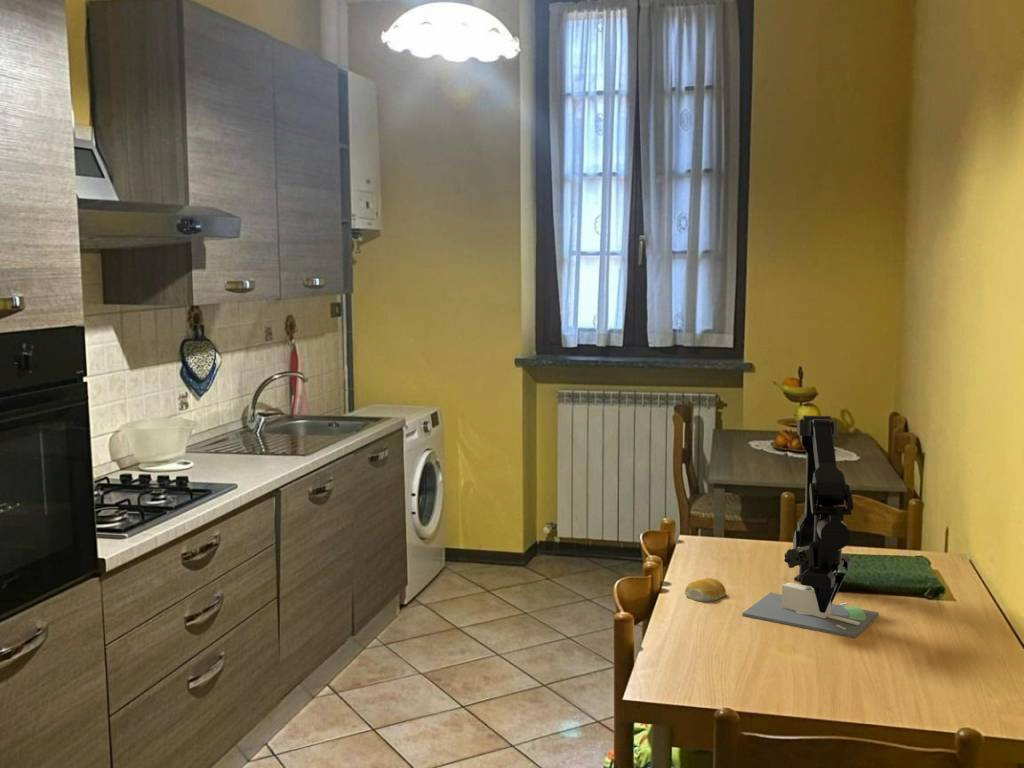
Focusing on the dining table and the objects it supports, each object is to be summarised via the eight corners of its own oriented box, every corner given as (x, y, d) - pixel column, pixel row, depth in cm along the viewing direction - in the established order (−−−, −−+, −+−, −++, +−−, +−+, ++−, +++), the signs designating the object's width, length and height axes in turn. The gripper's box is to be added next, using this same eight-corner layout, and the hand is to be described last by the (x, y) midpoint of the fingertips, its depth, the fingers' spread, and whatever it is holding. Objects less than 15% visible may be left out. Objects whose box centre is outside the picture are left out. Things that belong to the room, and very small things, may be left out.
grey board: (773, 592, 231) (774, 589, 231) (881, 612, 217) (881, 608, 217) (742, 615, 217) (742, 612, 216) (855, 638, 203) (856, 634, 203)
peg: (788, 604, 221) (788, 581, 220) (861, 623, 209) (862, 599, 208) (781, 607, 219) (782, 584, 219) (855, 626, 207) (856, 602, 206)
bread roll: (731, 595, 231) (731, 578, 230) (709, 605, 224) (710, 587, 224) (700, 587, 236) (700, 570, 236) (678, 597, 230) (678, 580, 229)
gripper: (801, 523, 224) (798, 591, 226) (776, 541, 208) (774, 615, 210) (853, 530, 218) (850, 600, 220) (831, 549, 203) (828, 625, 204)
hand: (824, 609), depth 214 cm, fingers open, 4 cm apart
